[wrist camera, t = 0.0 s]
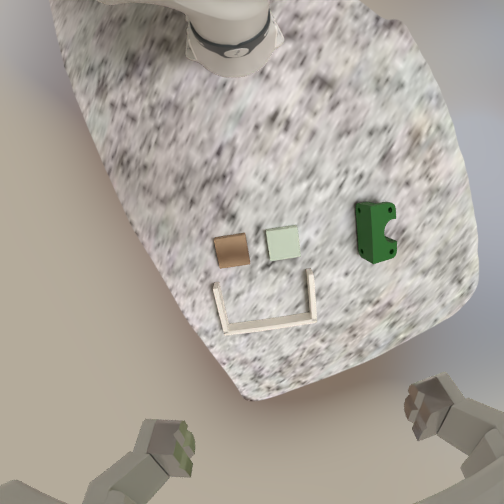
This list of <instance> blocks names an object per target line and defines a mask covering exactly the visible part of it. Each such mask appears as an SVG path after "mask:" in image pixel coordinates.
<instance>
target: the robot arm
mask: <svg viewBox="0 0 504 504" xmlns="http://www.w3.org/2000/svg"><path fill="white" fill-rule="evenodd" d="M96 1H98V2H100V3H103V4H106V5H116V4H126V3H147V4H155V5H161V6H165V7H169V8H172V9H175V10H178V11H180V12H183V13H184V14H185V19H186V22H188V28H187V29H186V32H187V39H186V50H185V55H186V57H187V58H188V59H189V60H192V61H195V62H199V63H200V64H202V65H203V66H204V67H205V68H206V69H207V70H209V71H210V72H212V73H214V74H216V75H218V76H222V77H227V78H239V77H245V76H248V75H251V74H253V73H255V72H257V71H258V70H260V69H261V68H262V67H263V66H264V65H265V64H266V63H267V62H268V60H269V59H270V57H271V55H272V53H273V52H274V51H275V50H276V49H277V48H279V47H280V46H281V45H282V44H283V43H284V37H283V35H282V33H281V31H280V29H279V27H278V25H277V23H276V21H275V19H274V17H273V15H272V13H271V11H270V9H269V2H270V0H96ZM277 35H278V36H277ZM190 48H191V50H190ZM408 392H409V395H408V397H407V398H406V399H405V403H404V411H405V414H406V417H407V419H408V421H410V422H412V423H414V424H413V427H412V430H413V432H414V434H415V436H416V438H417V441H420V440H423V439H425V438H428V437H431V436H433V435H436V434H437V436H439V437H440V438H442V439H443V440H445V441H446V442H448V443H450V444H451V445H452V446H454V447H456V448H457V449H459V450H460V451H462V452H463V453H465V454H467V455H468V456H469V457H468V458H467V459H466V460H465V462H464V463H463V464H462V466H461V470H462V472H463V474H464V477H465V479H464V480H462V481H460V482H459V483H457V484H455V485H453V486H451V487H449V488H447V489H445V490H443V491H441V492H439V493H437V494H435V495H433V496H430V497H428V498H426V499H423V500H421V501H419V502H416V503H414V504H504V412H501V411H498V410H496V409H494V408H491V407H489V406H487V405H484V404H482V403H479V402H477V401H474V400H473V399H470V398H467V399H465V398H464V396H463V395H462V393H461V392H460V390H459V389H458V387H457V386H456V385H455V383H454V382H453V381H452V379H451V378H450V376H449V375H448V374H447V373H446V372H443V373H440V374H438V375H435V376H431V377H429V378H426V379H424V380H421V381H418V382H416V383H413V384H411V385H410V386H409V389H408ZM187 427H188V425H187V424H186V422H185V421H179V420H159V419H145V420H144V421H143V423H142V426H141V429H140V432H139V435H138V438H137V441H136V444H135V447H134V450H133V452H128V453H127V454H126V455H125V456H123V457H122V458H121V459H120V460H118V461H117V462H116V463H115V464H113V465H112V466H111V467H110V468H108V469H107V470H106V471H104V472H103V473H102V474H101V475H99V476H98V477H97V478H95V479H94V480H93V481H92V482H90V483H89V486H88V489H87V492H86V494H85V498H84V500H83V503H82V504H146V503H147V502H148V501H149V500H150V499H151V498H152V497H153V496H154V495H155V493H157V491H158V490H159V489H160V488H161V487H162V486H163V485H164V484H165V482H166V481H167V480H168V479H169V476H172V477H191V473H192V467H193V463H192V461H191V460H190V458H191V457H192V456H193V455H194V454H195V439H194V436H193V434H192V432H190V431H188V430H187ZM0 504H67V503H65V502H62V501H60V500H58V499H55V498H53V497H51V496H49V495H47V494H45V493H42V492H40V491H38V490H36V489H34V488H32V487H31V486H29V485H27V484H25V483H23V482H21V481H18V480H12V481H9V482H7V483H5V484H3V485H1V486H0Z"/></svg>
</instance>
